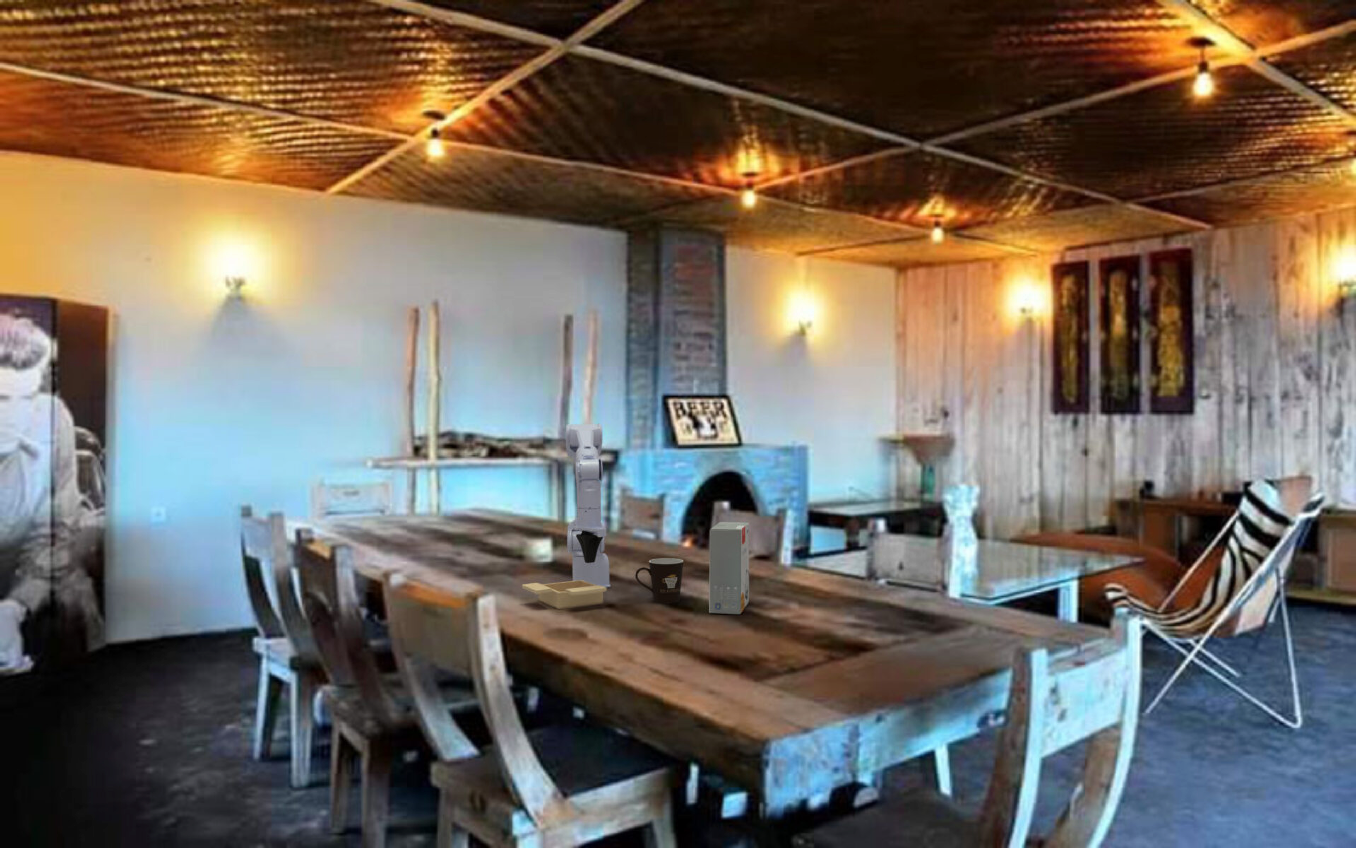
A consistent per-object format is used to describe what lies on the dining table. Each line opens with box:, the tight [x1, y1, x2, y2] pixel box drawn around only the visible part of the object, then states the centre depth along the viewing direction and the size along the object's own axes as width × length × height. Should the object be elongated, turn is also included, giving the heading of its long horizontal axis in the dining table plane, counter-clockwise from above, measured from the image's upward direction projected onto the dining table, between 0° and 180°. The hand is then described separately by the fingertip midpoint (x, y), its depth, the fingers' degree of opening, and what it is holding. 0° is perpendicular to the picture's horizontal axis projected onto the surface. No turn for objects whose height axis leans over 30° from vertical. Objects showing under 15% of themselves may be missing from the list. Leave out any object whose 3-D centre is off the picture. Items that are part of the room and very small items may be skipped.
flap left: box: [566, 585, 608, 595], centre depth 227 cm, size 9×4×1 cm, turn 121°
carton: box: [538, 580, 604, 610], centre depth 234 cm, size 12×12×4 cm
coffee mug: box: [634, 557, 684, 605], centre depth 235 cm, size 12×9×10 cm
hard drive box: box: [708, 521, 750, 615], centre depth 226 cm, size 16×8×20 cm, turn 168°
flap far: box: [521, 582, 552, 595], centre depth 230 cm, size 4×9×1 cm, turn 31°
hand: (589, 562), depth 233 cm, fingers closed
